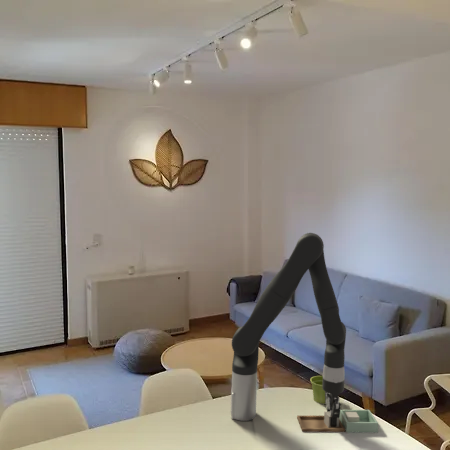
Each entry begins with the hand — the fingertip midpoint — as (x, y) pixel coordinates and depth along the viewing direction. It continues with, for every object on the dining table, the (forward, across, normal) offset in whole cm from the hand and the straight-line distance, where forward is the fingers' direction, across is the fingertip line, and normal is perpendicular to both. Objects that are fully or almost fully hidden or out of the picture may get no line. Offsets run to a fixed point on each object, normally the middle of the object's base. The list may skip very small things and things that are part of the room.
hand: (331, 422), depth 183 cm
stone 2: (+1, 0, +7) cm, 7 cm away
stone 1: (+1, 0, 0) cm, 1 cm away
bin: (+1, 0, +10) cm, 10 cm away
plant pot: (+1, -20, +1) cm, 20 cm away
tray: (+1, 0, -4) cm, 4 cm away
